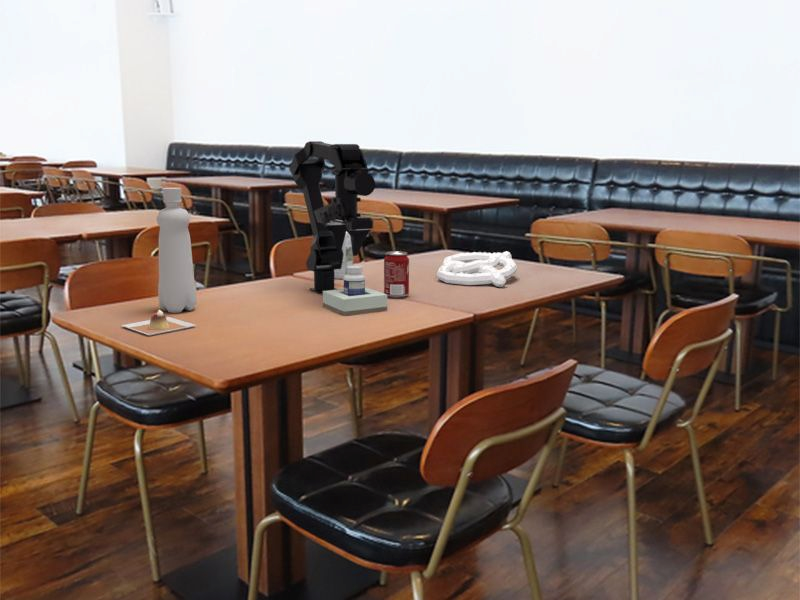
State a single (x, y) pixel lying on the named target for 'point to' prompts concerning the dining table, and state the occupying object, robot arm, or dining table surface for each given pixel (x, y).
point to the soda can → (396, 274)
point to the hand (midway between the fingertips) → (346, 253)
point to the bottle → (175, 256)
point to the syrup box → (345, 258)
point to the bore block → (354, 302)
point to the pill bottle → (354, 281)
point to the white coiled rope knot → (477, 268)
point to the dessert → (159, 323)
